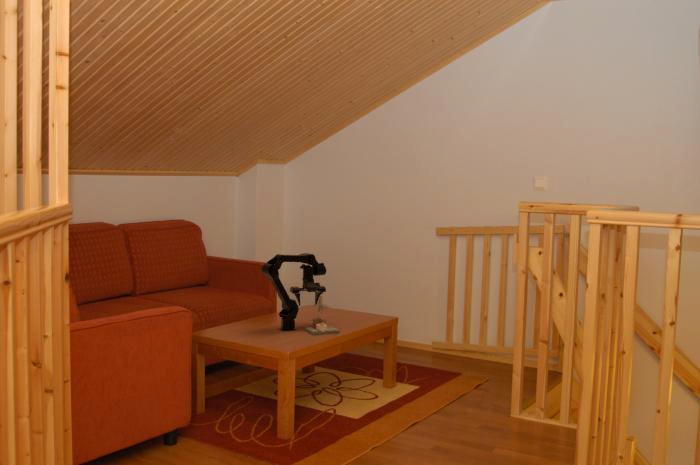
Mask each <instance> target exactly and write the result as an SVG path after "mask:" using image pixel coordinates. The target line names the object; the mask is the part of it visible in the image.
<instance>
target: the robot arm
mask: <svg viewBox="0 0 700 465" xmlns="http://www.w3.org/2000/svg"><path fill="white" fill-rule="evenodd" d="M283 263H302V264H301V265H300V266H299V269H302V278H301V280H302V285H301V287H299V286H296V285H295V286H290V288H289V292H290V293H292V294H293V295H294V297H295V298H296V299H294V298H293V299H292V298H290V296H289V294H288V292H287V291H286V289H285V286H284V285H283V282H282V281H281V279H280V271H279V270H280V269H281V267H282V265H283ZM261 273H262V274H263V275H264V276H265V277H266V278H267V279H268V280H269V281H270V283H271V284H272V286H273V288H274V290H275V291H276V294H277V296H278V298H279V299H280V301H281V308H282V309H281V310H280V311H279V313H278V317H279V318H280V327H279V329H280V330H281V331H283V332H284V331H295V330H296V329H295V327H296V321H295V320H296V318H297V317H298V316H297V315H298V313H299V309H300V308H299V306H301V293H300V292H307V293H314V303H315V305H316V304H317V302H318V299H319V297H320V295H323V294H324V293H326V292H327V288H326V287H325V286H324V285H321V284H320V282H315V278H314V277H317V276H325V275H326V273H327V268H326V266H325V263H323V262H318V260H317V258H316V256H315V254H314V253H307V252H304V253H299V254H279V253H276V255H274V256H273V257H272V258H271V259H270V260H268V261H267V262H266V263H264V264H263V265H262V267H261ZM296 300H297V301H296Z"/></svg>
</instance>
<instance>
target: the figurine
mask: <svg viewBox="0 0 700 465" xmlns="http://www.w3.org/2000/svg"><path fill="white" fill-rule="evenodd" d="M311 307H317V316H318V318H321V319H322V321H323V322H324V321H325V319H323V316H322V315H319V312H320V313H323V312H324V309H329V310H330V306H329V305H328V304H327V303H326V302H325V300H324V298H323V294H321V295H320V297H319V299H318V302H317V304H316V305H315V302H314V303H313V304H312V306H311Z"/></svg>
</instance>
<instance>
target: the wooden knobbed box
mask: <svg viewBox="0 0 700 465" xmlns="http://www.w3.org/2000/svg"><path fill="white" fill-rule="evenodd" d="M322 319H323V318H322ZM322 319H321V317H319V318H318V315H317V316H316V317H313V318H312V327H313V328H315V329H316V324H319V323H321V324H323V320H322Z"/></svg>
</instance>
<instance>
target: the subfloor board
mask: <svg viewBox="0 0 700 465" xmlns="http://www.w3.org/2000/svg"><path fill="white" fill-rule="evenodd" d="M304 331H305V332H306V333H309V334H311V335H312V336H321V335H331V334H332V335H334V334H335V335H336V334H340V333H341V330H340V329H338V328H336V327H334V326H333V325H327V330H323V331H319V330H317V329H315V328H313V326H312V327H311V326H309V327H304Z"/></svg>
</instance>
